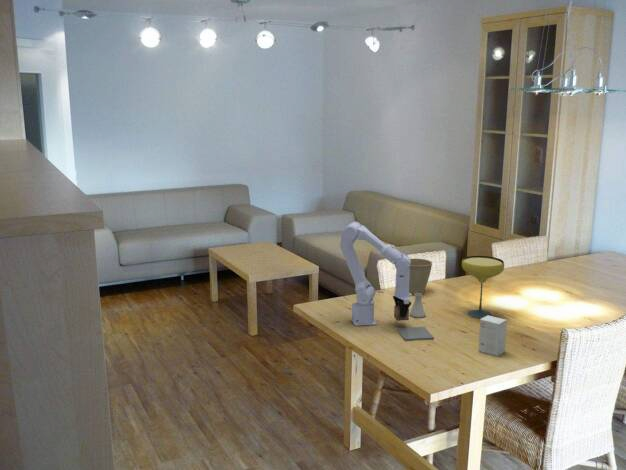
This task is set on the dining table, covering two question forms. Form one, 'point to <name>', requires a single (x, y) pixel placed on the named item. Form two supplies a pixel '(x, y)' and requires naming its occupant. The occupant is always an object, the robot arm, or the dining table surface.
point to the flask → (417, 307)
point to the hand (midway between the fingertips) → (401, 314)
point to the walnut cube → (397, 314)
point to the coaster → (415, 333)
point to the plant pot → (419, 275)
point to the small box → (492, 335)
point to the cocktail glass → (482, 275)
